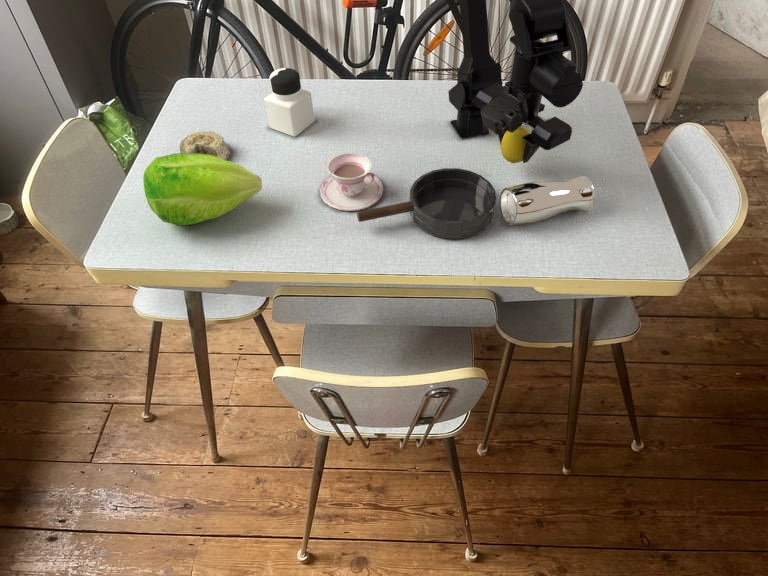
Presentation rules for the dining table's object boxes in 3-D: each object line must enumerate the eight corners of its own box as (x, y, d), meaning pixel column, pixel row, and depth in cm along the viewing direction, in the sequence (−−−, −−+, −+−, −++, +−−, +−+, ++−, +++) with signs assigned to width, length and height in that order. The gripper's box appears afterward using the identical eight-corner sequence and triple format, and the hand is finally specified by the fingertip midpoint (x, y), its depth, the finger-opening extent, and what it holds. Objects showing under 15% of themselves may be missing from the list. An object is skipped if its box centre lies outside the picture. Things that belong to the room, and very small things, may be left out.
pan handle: (356, 217, 100) (356, 209, 99) (411, 206, 102) (411, 198, 101) (359, 224, 99) (358, 216, 98) (414, 212, 101) (414, 205, 100)
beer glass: (587, 166, 100) (508, 179, 97) (601, 201, 98) (521, 216, 95) (569, 184, 107) (495, 197, 104) (582, 218, 105) (507, 232, 102)
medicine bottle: (315, 121, 125) (308, 69, 116) (295, 137, 121) (286, 85, 112) (289, 112, 128) (281, 61, 119) (269, 128, 124) (258, 76, 115)
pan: (399, 194, 108) (399, 176, 105) (474, 179, 111) (476, 161, 108) (425, 248, 98) (425, 230, 95) (507, 230, 101) (510, 212, 98)
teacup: (309, 203, 107) (305, 176, 102) (336, 166, 114) (333, 140, 109) (368, 218, 104) (367, 191, 99) (392, 179, 111) (392, 152, 106)
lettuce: (265, 235, 101) (252, 180, 92) (149, 244, 100) (125, 190, 91) (267, 186, 111) (256, 132, 102) (161, 194, 109) (140, 141, 100)
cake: (179, 150, 120) (172, 126, 116) (227, 141, 122) (221, 117, 118) (182, 174, 113) (174, 150, 109) (233, 164, 115) (227, 140, 111)
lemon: (527, 173, 107) (534, 136, 101) (497, 169, 108) (503, 133, 102) (528, 155, 111) (535, 119, 105) (499, 152, 112) (505, 116, 106)
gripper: (455, 70, 99) (449, 147, 110) (534, 118, 88) (518, 196, 100) (503, 51, 103) (492, 127, 115) (583, 94, 93) (562, 172, 104)
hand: (514, 154), depth 108 cm, fingers closed on lemon, 5 cm apart
